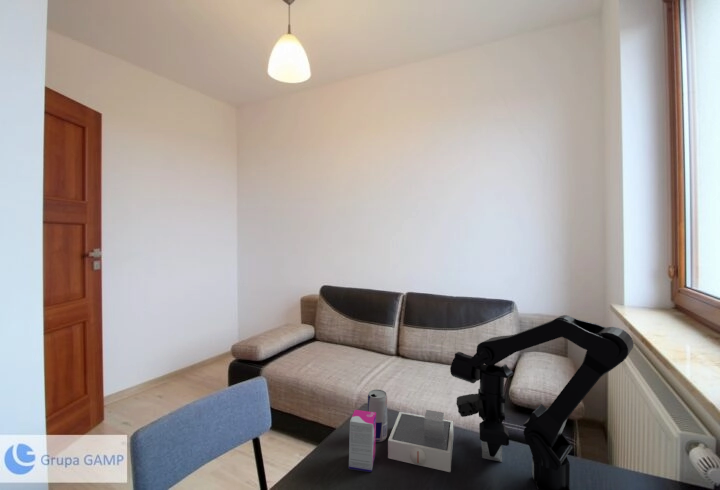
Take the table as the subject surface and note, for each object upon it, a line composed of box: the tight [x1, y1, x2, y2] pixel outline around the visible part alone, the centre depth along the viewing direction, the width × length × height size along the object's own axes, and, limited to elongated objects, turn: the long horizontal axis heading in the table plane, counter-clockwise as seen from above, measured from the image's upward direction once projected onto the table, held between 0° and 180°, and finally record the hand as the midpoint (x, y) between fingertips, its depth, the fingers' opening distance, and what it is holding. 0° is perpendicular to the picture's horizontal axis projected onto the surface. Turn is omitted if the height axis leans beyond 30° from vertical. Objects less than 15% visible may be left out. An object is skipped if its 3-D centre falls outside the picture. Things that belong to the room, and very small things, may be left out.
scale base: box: [387, 411, 454, 473], centre depth 84 cm, size 15×14×4 cm
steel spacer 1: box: [424, 409, 445, 440], centre depth 83 cm, size 4×4×4 cm
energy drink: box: [367, 389, 388, 443], centre depth 88 cm, size 5×5×12 cm
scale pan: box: [393, 414, 449, 451], centre depth 84 cm, size 13×12×1 cm
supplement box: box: [348, 409, 377, 473], centre depth 78 cm, size 6×6×12 cm
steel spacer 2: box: [481, 441, 503, 463], centre depth 81 cm, size 4×4×4 cm
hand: (491, 450), depth 81 cm, fingers closed on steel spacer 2, 4 cm apart
